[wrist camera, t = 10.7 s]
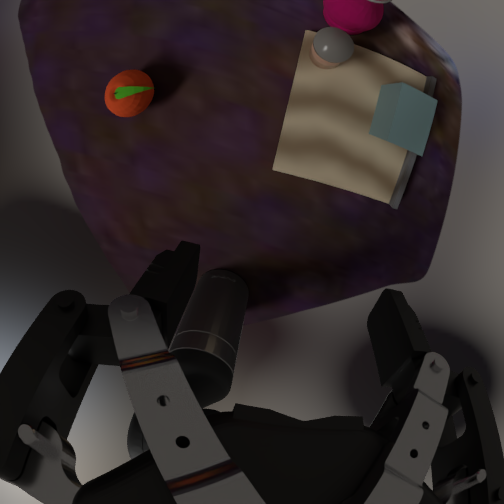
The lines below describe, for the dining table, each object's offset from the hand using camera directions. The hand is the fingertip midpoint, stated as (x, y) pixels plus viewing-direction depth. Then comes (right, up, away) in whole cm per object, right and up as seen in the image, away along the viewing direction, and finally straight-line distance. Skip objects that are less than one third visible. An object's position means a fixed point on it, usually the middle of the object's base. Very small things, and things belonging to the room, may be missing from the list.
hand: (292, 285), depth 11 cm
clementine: (-17, +24, +21) cm, 36 cm away
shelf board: (+12, +19, +20) cm, 30 cm away
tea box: (+16, +19, +18) cm, 31 cm away
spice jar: (+7, +26, +15) cm, 30 cm away
